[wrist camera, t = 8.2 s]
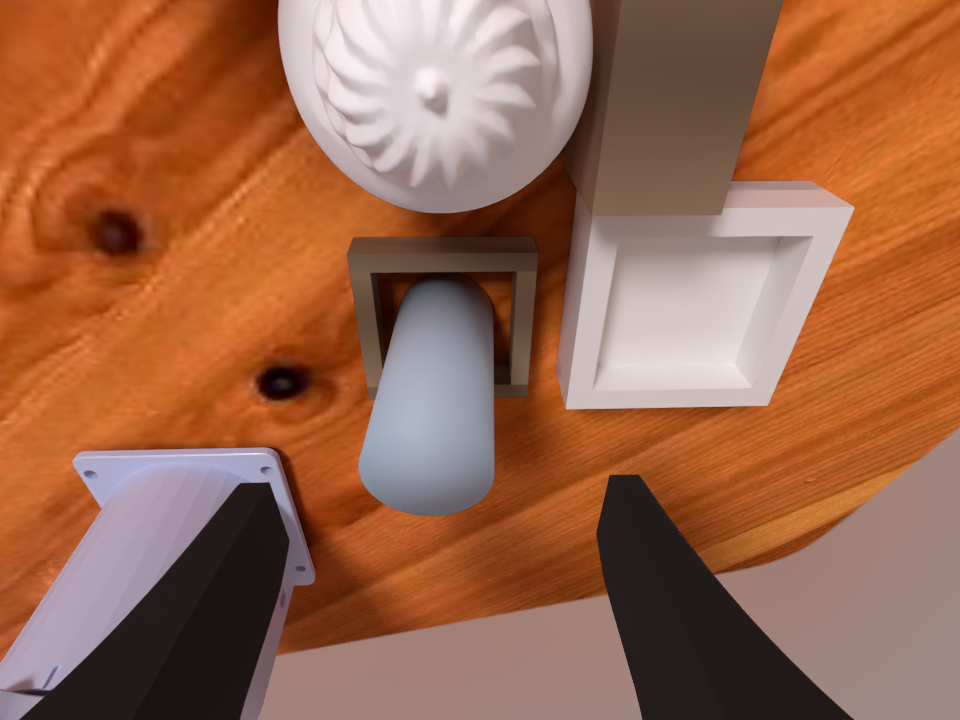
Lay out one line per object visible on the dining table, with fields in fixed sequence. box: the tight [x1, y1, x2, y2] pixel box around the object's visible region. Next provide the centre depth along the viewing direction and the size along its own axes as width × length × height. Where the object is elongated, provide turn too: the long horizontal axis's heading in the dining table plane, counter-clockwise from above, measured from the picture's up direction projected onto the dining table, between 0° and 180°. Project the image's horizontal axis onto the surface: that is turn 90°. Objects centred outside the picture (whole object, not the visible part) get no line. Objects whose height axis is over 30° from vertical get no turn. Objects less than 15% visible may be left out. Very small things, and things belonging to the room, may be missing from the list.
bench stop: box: [563, 0, 783, 216], centre depth 12 cm, size 6×3×4 cm, turn 0°
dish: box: [556, 181, 855, 409], centre depth 17 cm, size 7×7×2 cm
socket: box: [347, 236, 538, 400], centre depth 18 cm, size 6×6×1 cm
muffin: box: [278, 0, 593, 213], centre depth 11 cm, size 6×6×7 cm
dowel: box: [358, 273, 494, 516], centre depth 15 cm, size 3×3×7 cm
